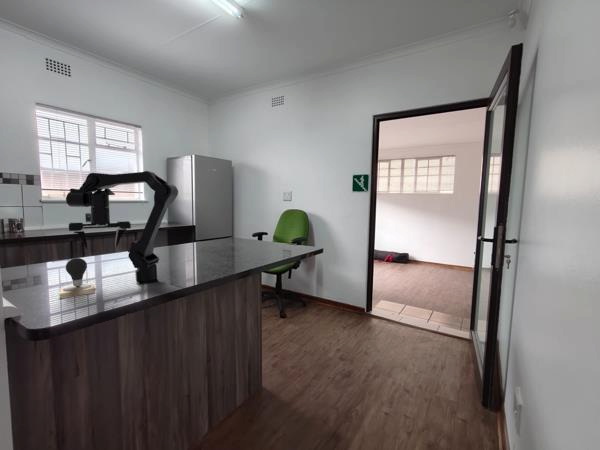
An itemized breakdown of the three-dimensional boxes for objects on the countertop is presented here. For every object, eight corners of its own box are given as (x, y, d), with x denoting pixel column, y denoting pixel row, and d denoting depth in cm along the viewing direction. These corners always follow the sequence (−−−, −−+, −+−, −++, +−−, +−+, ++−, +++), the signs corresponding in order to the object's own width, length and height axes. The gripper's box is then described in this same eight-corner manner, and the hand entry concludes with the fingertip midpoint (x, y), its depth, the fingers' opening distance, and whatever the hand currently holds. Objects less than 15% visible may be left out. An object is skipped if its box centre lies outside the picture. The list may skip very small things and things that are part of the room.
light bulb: (73, 290, 90) (71, 260, 90) (63, 288, 93) (61, 259, 92) (92, 285, 96) (90, 257, 95) (82, 283, 98) (80, 256, 97)
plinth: (93, 286, 100) (93, 281, 100) (95, 292, 94) (94, 287, 93) (60, 291, 95) (60, 286, 95) (60, 298, 88) (59, 293, 88)
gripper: (125, 206, 116) (127, 243, 117) (67, 206, 104) (69, 247, 105) (130, 207, 107) (131, 247, 109) (67, 207, 95) (70, 251, 97)
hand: (101, 248), depth 105 cm, fingers open, 9 cm apart
